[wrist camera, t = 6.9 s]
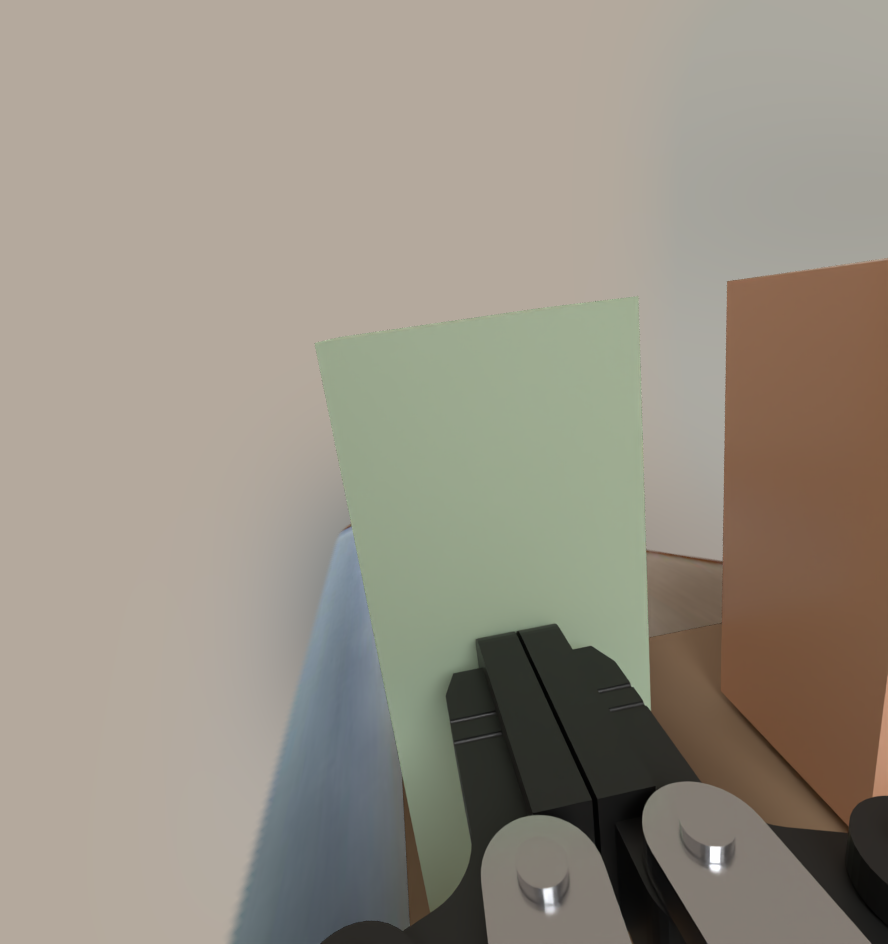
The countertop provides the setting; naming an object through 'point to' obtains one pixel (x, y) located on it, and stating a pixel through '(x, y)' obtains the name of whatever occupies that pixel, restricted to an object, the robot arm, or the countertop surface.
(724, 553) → the peach rectangular block
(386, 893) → the countertop surface
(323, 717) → the countertop surface
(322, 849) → the countertop surface
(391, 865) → the countertop surface
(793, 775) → the brown wooden board
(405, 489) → the pale green block
